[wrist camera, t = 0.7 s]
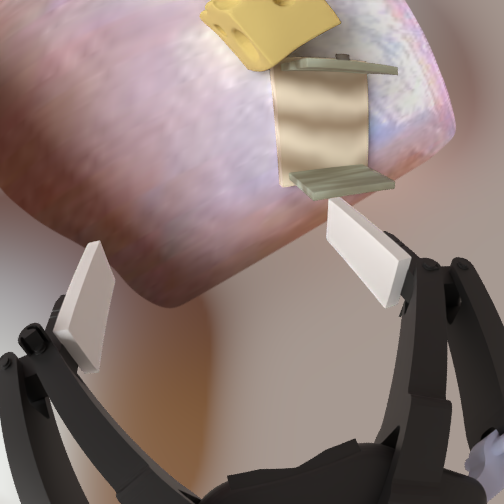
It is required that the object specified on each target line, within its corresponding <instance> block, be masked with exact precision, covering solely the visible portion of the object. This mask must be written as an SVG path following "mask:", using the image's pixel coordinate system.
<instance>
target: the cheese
mask: <svg viewBox="0 0 504 504" xmlns="http://www.w3.org/2000/svg"><path fill="white" fill-rule="evenodd" d="M205 9H206V10H204V11H203V12H201V14H200V18H201V20H202V21H203V22H204V23H205V24H206V25H207V26H209V27H210V28H211V29H212V30H213V31H214V32H215V33H217V34H218V35H219V37H220V38H221V39H222V40H223V41H224V42H225V43H226V44H227V45H228V47H229V48H230V49H231V50H232V51H233V52H234V53H235V54H236V56H237V57H238V58H239V59H240V60H241V62H242V63H243V64H244V65H245V66H246V68H247V69H248V70H252V71H259V72H261V71H266V70H268V69H270V68H272V67H274V66H275V65H276V64H278V63H279V62H280V61H282V60H283V59H284V58H285V57H286V56H288V55H289V54H290V53H292V52H293V51H294V50H296V49H297V48H298V47H300V46H301V45H303V44H305V43H306V42H308V41H310V40H311V39H313V38H315V37H317V36H318V35H320V34H322V33H324V32H326V31H327V30H329V29H331V28H333V27H335V26H337V25H339V24H341V21H340V20H339V18H338V17H337V15H336V14H335V12H334V11H333V10H332V8H331V7H330V6H329V5H328V4H327V2H326V1H325V0H211V1H209V2H208V3H207V4H206V6H205Z"/></svg>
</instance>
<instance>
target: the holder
mask: <svg viewBox="0 0 504 504" xmlns="http://www.w3.org/2000/svg"><path fill="white" fill-rule="evenodd" d="M367 74H390V75H398V67H393V66H387V65H381V64H374V63H366V61H358V60H349V55H347V54H336V58H320V57H285V58H284V59H283V60H282V61H280V62H279V63H278V64H276V65H275V66H274V67H272V68H270V76H271V86H272V96H273V107H274V119H275V131H276V143H277V156H278V170H279V184H280V185H281V186H282V187H289V186H297V187H298V188H300V189H301V190H302V191H303V192H304V193H305V194H306V195H308V196H309V197H310V198H311V199H312V200H313V201H316V200H322V199H328V198H334V197H341V196H347V195H353V194H360V193H367V192H374V191H381V190H388V189H394V188H395V181H393V180H391V179H390V178H388V177H386V176H384V175H382V174H380V173H378V172H377V171H375V170H373V169H371V168H369V167H367V166H368V84H367Z"/></svg>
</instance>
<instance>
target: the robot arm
mask: <svg viewBox="0 0 504 504" xmlns="http://www.w3.org/2000/svg"><path fill="white" fill-rule="evenodd" d="M326 239H327V240H328V242H329V243H330V244H331V245H332V246H333V247H334V248H335V249H336V251H337V252H338V253H339V254H340V255H341V256H342V258H343V259H344V260H345V261H346V262H347V263H348V265H349V266H350V267H351V268H352V269H353V270H354V272H355V273H356V274H357V275H358V276H359V278H360V279H361V280H362V281H363V282H364V283H365V285H366V286H367V287H368V288H369V290H370V291H371V292H372V293H373V295H374V296H375V297H376V298H377V300H378V301H379V302H380V303H381V304H382V306H383V307H384V308H385V309H387V308H389V307H392V306H395V305H397V304H398V301H399V298H400V295H401V296H402V297H403V298H404V299H405V301H404V304H403V307H402V310H401V313H400V315H399V317H401V316H402V320H401V329H400V337H399V344H398V351H397V357H396V363H395V369H394V375H393V380H392V385H391V390H390V394H389V399H388V403H387V408H386V412H385V416H384V420H383V423H382V426H381V429H380V431H379V433H378V435H377V437H376V439H375V442H374V443H357V441H356V439H353V440H350V441H347V442H345V443H342V444H340V445H338V446H335V447H332V448H329V449H327V450H325V451H323V452H322V453H320V454H319V455H317V456H316V457H314V458H312V459H311V460H309V461H308V462H306V463H304V464H302V465H300V466H299V467H296V468H286V469H259V470H254V471H250V472H245V473H240V474H235V475H229V476H227V478H228V481H227V482H225V483H222V484H221V485H219V486H217V487H216V488H214V489H213V490H211V491H210V492H209V493H208V494H207V495H205V497H204V498H203V499H200V498H199V497H198V496H197V495H195V494H194V493H193V492H191V491H190V490H189V489H187V488H186V487H184V486H183V485H181V484H180V483H179V482H177V481H176V480H175V479H174V478H173V477H171V476H170V475H169V474H168V473H167V472H166V471H165V470H163V469H162V468H161V467H160V466H159V465H158V464H157V463H156V462H154V461H153V460H152V459H151V458H150V457H149V456H148V455H147V454H146V453H145V452H144V451H143V450H142V449H141V448H140V447H139V446H138V445H137V444H136V443H135V442H134V441H133V440H132V439H131V438H130V437H129V436H128V435H127V434H126V432H125V431H124V430H123V429H122V428H121V427H120V426H119V425H118V424H117V423H116V421H115V420H114V419H113V418H112V417H111V416H110V414H109V413H108V412H107V411H106V410H105V409H104V407H103V406H102V405H101V404H100V402H99V401H98V400H97V399H96V397H95V396H94V395H93V394H92V392H91V391H90V390H89V388H88V387H87V386H86V384H85V383H84V382H83V380H82V379H81V378H80V376H79V375H78V374H77V369H78V366H79V367H80V368H81V370H82V371H83V372H84V373H85V374H86V373H98V372H99V366H100V359H101V352H102V346H103V340H104V334H105V328H106V322H107V317H108V312H109V307H110V301H111V298H112V293H113V289H114V284H115V278H114V276H113V273H112V271H111V268H110V266H109V263H108V261H107V258H106V255H105V253H104V250H103V248H102V245H101V242H100V241H96V242H91V243H88V245H87V247H86V249H85V251H84V254H83V256H82V258H81V260H80V262H79V264H78V267H77V269H76V271H75V274H74V276H73V278H72V281H71V283H70V286H69V288H68V291H67V293H66V295H61V296H60V298H59V299H58V300H57V301H56V303H55V305H54V307H53V310H52V311H53V312H52V313H51V316H50V319H49V321H48V324H47V326H46V329H45V331H44V329H43V328H42V326H41V325H40V324H38V323H32V324H30V325H28V326H26V327H25V328H24V329H23V330H22V331H21V333H20V335H19V338H18V343H19V345H20V346H21V347H22V348H23V350H24V351H25V352H26V354H27V355H26V356H24V357H21V358H19V359H18V357H17V356H16V355H15V354H14V353H13V352H8V353H5V354H4V355H2V356H1V358H0V419H1V426H2V432H3V438H4V443H5V448H6V453H7V458H8V462H9V466H10V469H11V473H12V477H13V480H14V484H15V487H16V490H17V493H18V496H19V499H20V502H21V504H89V502H88V500H87V498H86V496H85V494H84V492H83V490H82V488H81V486H80V484H79V482H78V479H77V477H76V475H75V473H74V471H73V468H72V466H71V463H70V460H69V458H68V455H67V453H66V450H65V447H64V445H63V442H62V439H61V436H60V433H59V430H58V427H57V424H56V420H55V417H54V414H53V410H52V407H51V403H50V400H51V402H52V403H53V405H54V407H55V409H56V410H57V412H58V414H59V415H60V417H61V418H62V420H63V422H64V423H65V425H66V426H67V428H68V430H69V431H70V433H71V434H72V436H73V437H74V439H75V440H76V441H77V443H78V444H79V446H80V447H81V449H82V450H83V451H84V453H85V454H86V455H87V457H88V458H89V459H90V461H91V462H92V463H93V465H94V466H95V467H96V468H97V470H98V471H99V472H100V473H101V474H102V476H103V477H104V478H105V479H106V480H107V481H108V483H109V484H110V485H111V486H112V487H113V489H114V490H115V491H116V497H117V499H118V501H119V502H120V503H121V504H487V502H488V501H489V500H491V499H492V498H493V497H494V496H496V495H497V494H498V493H499V492H500V491H501V490H503V489H504V326H503V324H502V321H501V319H500V317H499V315H498V313H497V310H496V308H495V306H494V304H493V302H492V300H491V298H490V296H489V294H488V292H487V290H486V288H485V286H484V284H483V282H482V280H481V279H480V277H479V275H478V273H477V271H476V270H475V268H474V266H473V265H472V264H471V262H469V261H468V260H467V259H464V258H459V257H456V258H454V259H453V260H452V263H451V265H450V266H444V267H443V266H442V267H441V266H440V265H439V264H438V262H436V261H434V260H432V259H429V258H419V257H418V256H417V255H416V254H415V253H414V252H413V251H411V250H410V249H409V248H408V247H407V246H405V245H404V244H403V243H402V242H401V241H400V240H399V239H398V238H396V237H395V236H394V235H392V234H390V233H388V232H386V231H381V230H380V229H379V228H378V227H377V226H375V225H374V224H373V223H372V222H370V221H369V220H368V219H367V218H366V217H364V216H363V215H362V214H361V213H360V212H358V211H357V210H356V209H355V208H353V207H352V206H351V205H350V204H348V203H347V202H346V201H344V200H343V199H342V198H341V197H336V198H329V202H328V220H327V236H326ZM447 340H448V344H449V348H450V352H451V355H452V359H453V364H454V368H455V372H456V377H457V382H458V387H459V392H460V398H461V404H462V410H463V417H464V424H465V431H466V437H467V441H468V445H469V448H470V454H469V458H468V459H467V460H466V462H465V469H466V470H467V471H469V475H468V476H466V475H463V474H459V473H457V472H453V471H451V470H447V469H445V468H443V467H444V463H445V457H446V452H447V446H448V439H449V432H450V424H451V415H452V403H451V401H449V400H446V381H447ZM49 398H50V399H49Z"/></svg>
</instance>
